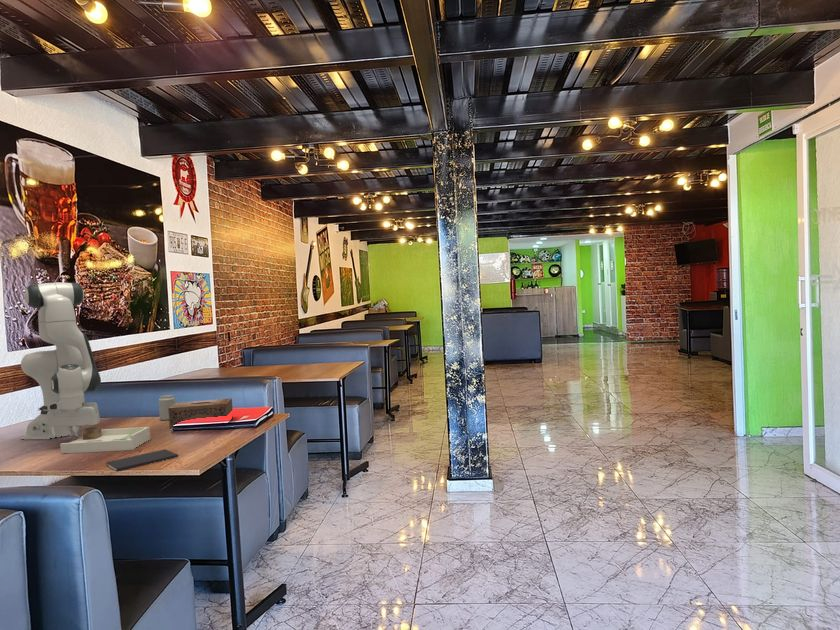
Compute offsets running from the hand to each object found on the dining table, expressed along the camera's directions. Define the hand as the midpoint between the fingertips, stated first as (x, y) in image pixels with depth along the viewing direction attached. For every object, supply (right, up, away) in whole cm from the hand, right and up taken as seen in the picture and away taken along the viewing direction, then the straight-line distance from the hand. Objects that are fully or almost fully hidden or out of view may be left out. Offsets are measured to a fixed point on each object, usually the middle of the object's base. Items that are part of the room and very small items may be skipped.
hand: (74, 436), depth 237 cm
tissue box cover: (+40, -1, +34) cm, 53 cm away
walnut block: (+7, -1, 0) cm, 7 cm away
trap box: (+15, -4, -3) cm, 16 cm away
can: (+18, -2, +47) cm, 51 cm away
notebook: (+42, -4, -28) cm, 51 cm away
